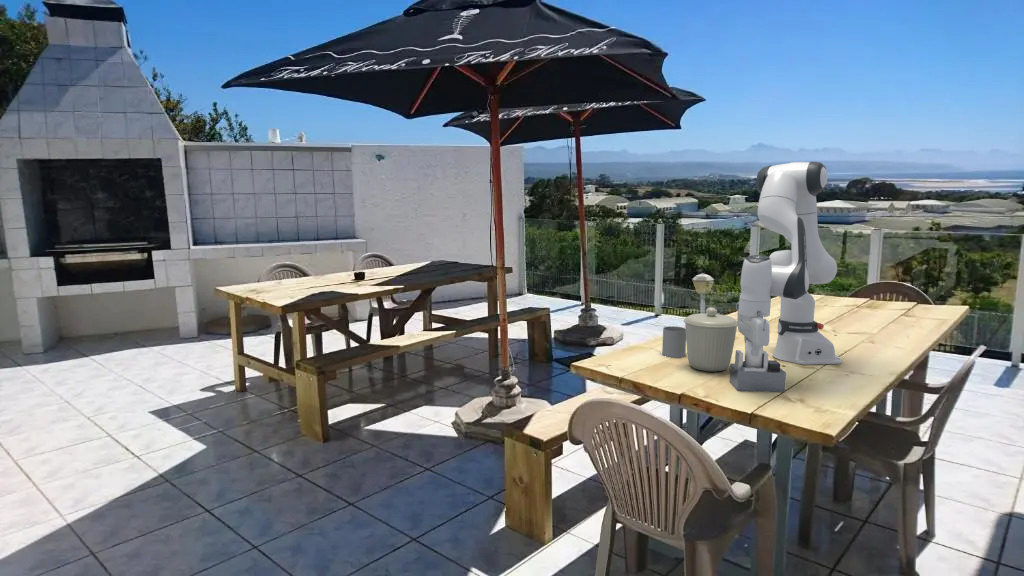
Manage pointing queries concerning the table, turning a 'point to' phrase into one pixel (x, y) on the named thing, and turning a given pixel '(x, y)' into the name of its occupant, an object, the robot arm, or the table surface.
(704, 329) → the canister
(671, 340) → the cup
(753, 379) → the grey holder stand
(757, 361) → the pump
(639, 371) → the table surface
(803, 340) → the robot arm
